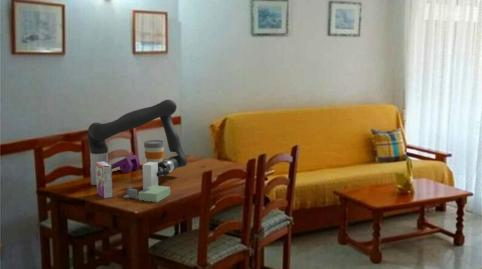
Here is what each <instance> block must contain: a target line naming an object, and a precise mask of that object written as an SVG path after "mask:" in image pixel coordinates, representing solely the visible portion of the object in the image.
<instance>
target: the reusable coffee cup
mask: <svg viewBox="0 0 482 269" xmlns="http://www.w3.org/2000/svg"><path fill="white" fill-rule="evenodd" d="M143 147H144V155H145V159H146V163H148V162H157V163H159V162H161V161H163V159H164V155H165V150H164V149H165V148H164V147H165V141H164V140H160V139H153V140H146V141H144V143H143Z"/></svg>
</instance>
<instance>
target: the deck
mask: <svg viewBox="0 0 482 269" xmlns="http://www.w3.org/2000/svg"><path fill="white" fill-rule="evenodd" d="M168 196H171V186H164V185H163V186H162V185H158V186H156V185H152V186H150V187H148V188H146V189H144V190H143V189H142V190H140V191H138V189H134V186H133V185H129V186H127V187H126V194H125V195H122V197H123V199H129V198H132V199H131V200H138V199H139V200H138V201H142V200H144V202H145V201H146V202H151V201H152V202H153V203H158V202H159V201H161V200H163V199H166V198H167V197H168ZM152 202H151V203H152Z"/></svg>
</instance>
